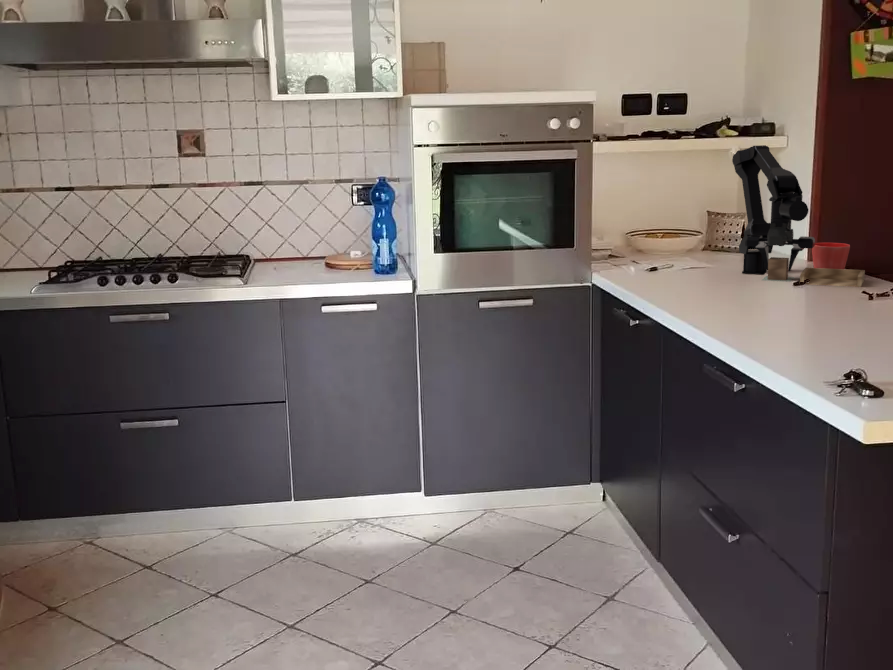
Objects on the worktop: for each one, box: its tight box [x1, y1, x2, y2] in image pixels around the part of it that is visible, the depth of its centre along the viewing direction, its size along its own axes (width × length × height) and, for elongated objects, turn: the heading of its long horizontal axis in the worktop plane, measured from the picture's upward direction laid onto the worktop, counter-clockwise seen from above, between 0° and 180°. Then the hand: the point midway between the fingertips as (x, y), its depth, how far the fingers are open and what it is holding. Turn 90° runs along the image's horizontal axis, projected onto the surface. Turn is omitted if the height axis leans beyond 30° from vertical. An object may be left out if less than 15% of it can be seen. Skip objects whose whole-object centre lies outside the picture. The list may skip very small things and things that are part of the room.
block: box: [767, 256, 790, 280], centre depth 267 cm, size 5×5×6 cm
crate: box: [799, 267, 866, 288], centre depth 260 cm, size 16×12×4 cm
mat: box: [761, 275, 795, 283], centre depth 268 cm, size 8×8×1 cm
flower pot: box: [811, 242, 851, 269], centre depth 272 cm, size 11×11×10 cm
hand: (778, 270), depth 267 cm, fingers open, 6 cm apart
